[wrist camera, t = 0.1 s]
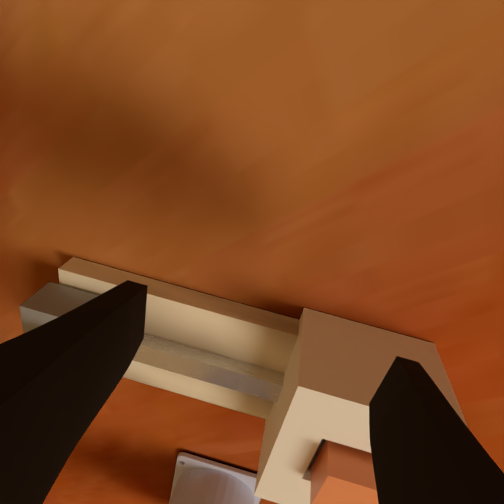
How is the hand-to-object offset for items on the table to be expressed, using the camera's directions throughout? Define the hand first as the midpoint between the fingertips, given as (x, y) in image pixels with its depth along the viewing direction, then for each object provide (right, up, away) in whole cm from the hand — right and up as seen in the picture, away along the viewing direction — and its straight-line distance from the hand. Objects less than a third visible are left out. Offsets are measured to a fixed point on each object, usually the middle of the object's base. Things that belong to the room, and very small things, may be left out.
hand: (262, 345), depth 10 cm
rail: (-6, -4, +13) cm, 15 cm away
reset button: (+5, -9, +9) cm, 13 cm away
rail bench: (-5, -3, +14) cm, 15 cm away
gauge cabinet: (+6, -6, +14) cm, 16 cm away
